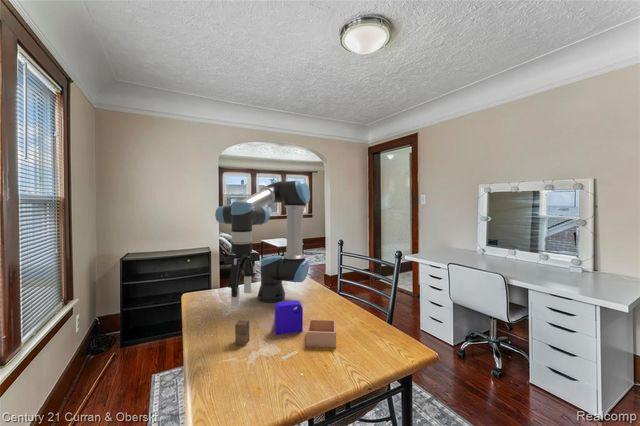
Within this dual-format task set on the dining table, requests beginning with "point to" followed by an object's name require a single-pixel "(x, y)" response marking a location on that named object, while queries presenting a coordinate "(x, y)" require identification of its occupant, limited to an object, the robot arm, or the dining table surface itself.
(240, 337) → the walnut post
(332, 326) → the planter
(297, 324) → the bracket
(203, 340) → the dining table surface
